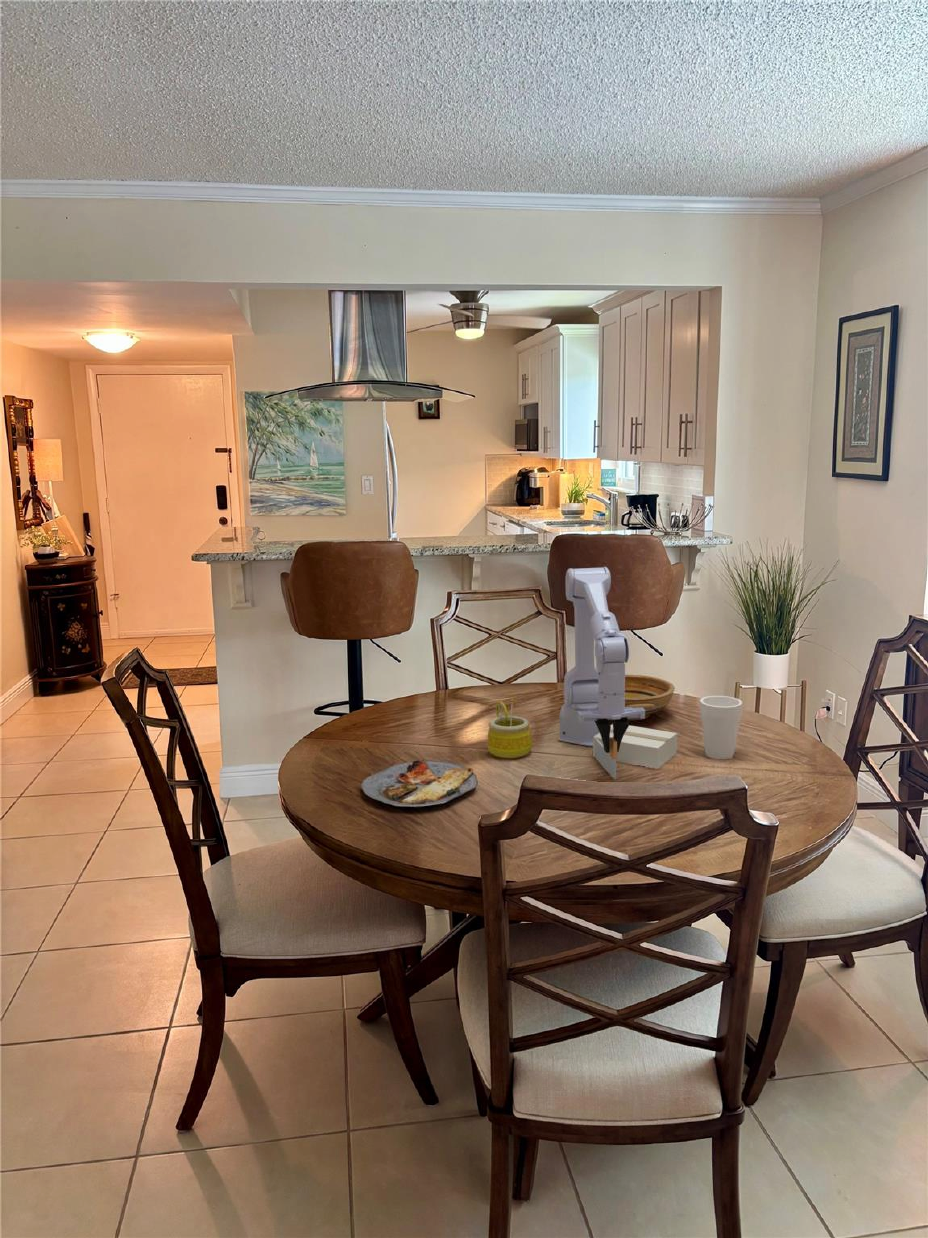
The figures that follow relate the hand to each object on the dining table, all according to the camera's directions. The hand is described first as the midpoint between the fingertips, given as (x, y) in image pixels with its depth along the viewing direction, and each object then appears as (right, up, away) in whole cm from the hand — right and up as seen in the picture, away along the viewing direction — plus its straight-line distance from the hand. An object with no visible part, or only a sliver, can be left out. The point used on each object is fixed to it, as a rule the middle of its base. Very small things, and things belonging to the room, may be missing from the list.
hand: (611, 751), depth 194 cm
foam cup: (+28, -3, +14) cm, 31 cm away
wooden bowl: (+12, +3, +46) cm, 48 cm away
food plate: (-42, -9, -2) cm, 43 cm away
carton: (+8, -3, +15) cm, 17 cm away
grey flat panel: (0, -5, +7) cm, 8 cm away
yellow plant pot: (-21, -3, +20) cm, 29 cm away
